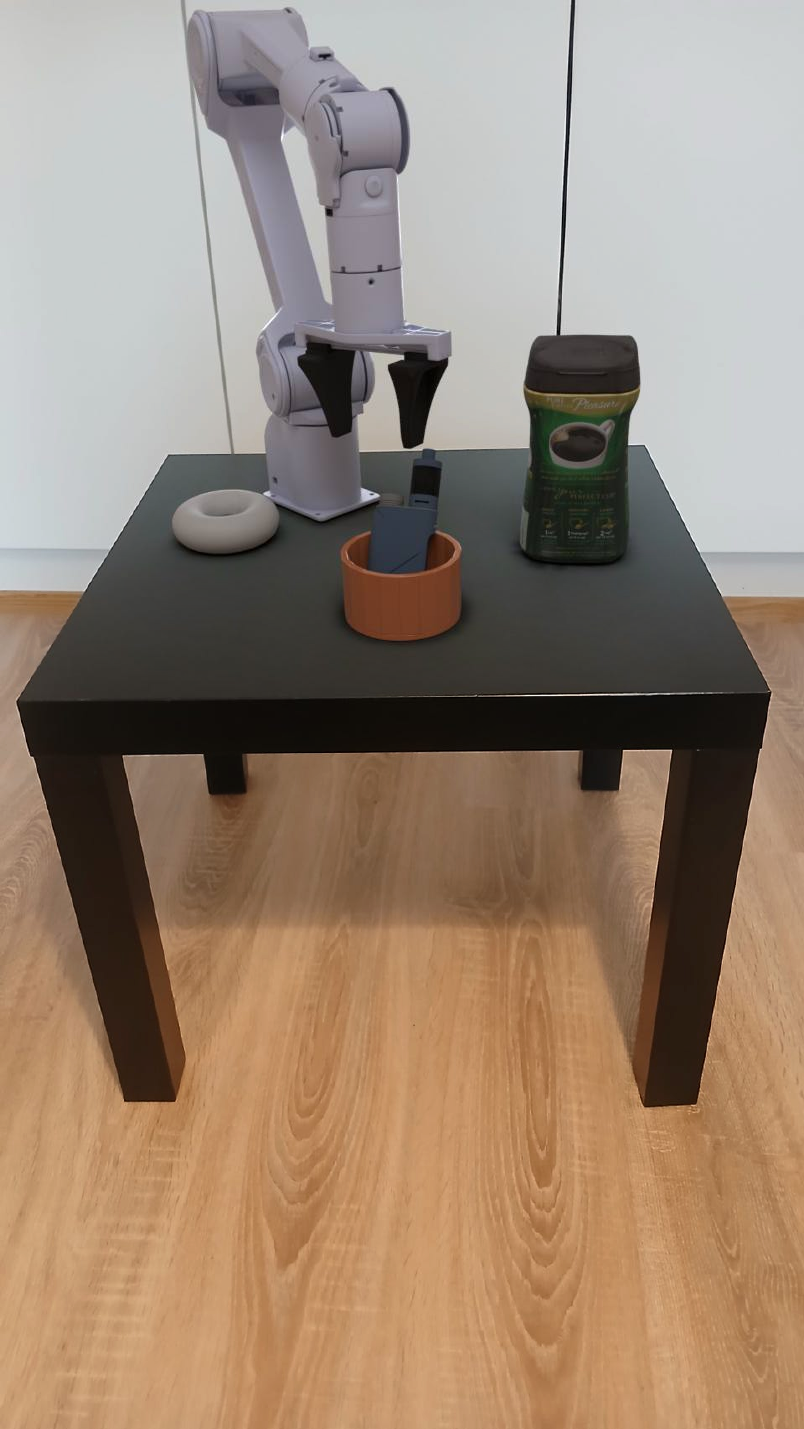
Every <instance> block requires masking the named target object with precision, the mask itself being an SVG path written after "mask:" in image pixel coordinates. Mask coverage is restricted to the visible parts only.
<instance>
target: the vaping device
mask: <svg viewBox="0 0 804 1429" xmlns="http://www.w3.org/2000/svg"><path fill="white" fill-rule="evenodd" d="M436 452H437V451H436V449H433V448H428V447H427V448H422V453H421V457H420V458H414V459H413V460H412V469H411V470H412V471H411V480H410V488H409V489H410V490H409V498H408V506H405V499H406V498H405V497H406V496H405V495H402V494H399V493H393V492H392V493H391V492H383V493H380V494H379V495H380V500H379V503H378V504H377V505H376V506H375V508H376V509H375V510H374V511H373V514H372V517H371V527H370V531H371V535H370V545H369V554H368V563H367V570H368V571H372V572H377V573H382V574H411V573H419V572H423V571H427V568H428V559H429V550H430V542H431V540H432V538H433V537H434V536H435V530H436V531H438V530H437V529H438V525H437V522H438V514H439V512H438V508H439V498H440V489H441V488H440V487H441V480H442V470H443V462H442V461H441V460H437V459H436Z"/></svg>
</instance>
